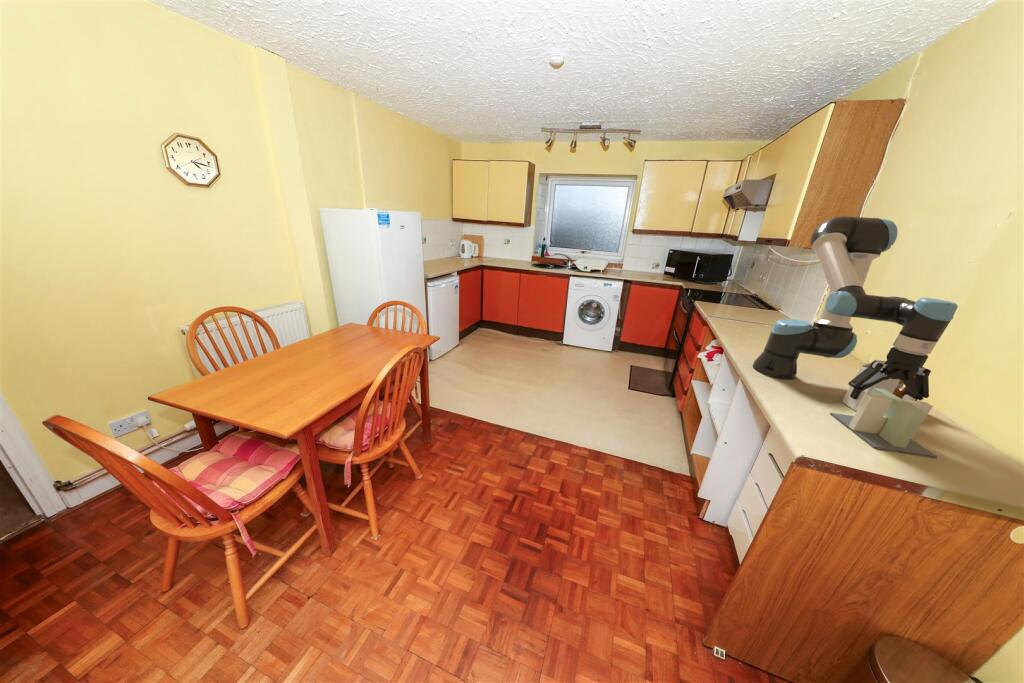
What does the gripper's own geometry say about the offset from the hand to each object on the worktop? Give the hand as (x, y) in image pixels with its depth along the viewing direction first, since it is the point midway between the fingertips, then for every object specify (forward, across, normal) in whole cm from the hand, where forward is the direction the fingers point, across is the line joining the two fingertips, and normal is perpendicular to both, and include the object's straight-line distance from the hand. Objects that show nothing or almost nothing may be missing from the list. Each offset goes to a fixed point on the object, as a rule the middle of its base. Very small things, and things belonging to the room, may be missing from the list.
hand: (875, 411), depth 105 cm
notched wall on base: (+6, 0, -4) cm, 7 cm away
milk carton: (+6, +7, +12) cm, 15 cm away
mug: (+6, +21, +22) cm, 31 cm away
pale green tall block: (+5, 0, -4) cm, 7 cm away
